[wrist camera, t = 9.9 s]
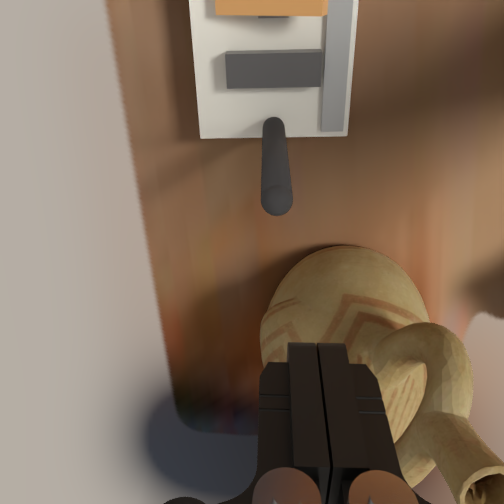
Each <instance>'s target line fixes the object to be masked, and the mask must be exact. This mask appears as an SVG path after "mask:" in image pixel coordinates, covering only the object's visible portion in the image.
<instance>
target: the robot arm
mask: <svg viewBox="0 0 504 504" xmlns="http://www.w3.org/2000/svg"><path fill="white" fill-rule="evenodd" d="M164 504H205V503H203V502H202V501H200V500H198V499H195V498H192V497H179V498H175V499H172V500H169V501H167V502H166V503H164ZM219 504H431V503H429V502H427V501H425V500H424V499H423V498H421V497H420V496H419V495H418V494H416V493H415V492H414V491H413V490H412V488H411V487H410V486H409V485H408V483H407V482H406V480H405V479H404V477H403V475H402V472H401V469H400V465H399V461H398V457H397V453H396V449H395V445H394V441H393V438H392V434H391V430H390V426H389V422H388V418H387V415H386V410H385V406H384V402H383V400H382V394H381V390H380V387H379V383H378V379H377V378H376V377H375V375H374V374H373V373H372V371H371V370H370V369H369V368H368V366H367V365H366V364H349V359H348V353H347V348H346V345H345V343H317V344H315V343H304V342H288V345H287V362H268V363H267V365H266V366H265V368H264V370H263V372H262V374H261V375H260V385H259V422H258V460H257V471H256V475H255V477H254V479H253V481H252V483H251V484H250V486H249V487H248V488H247V489H246V490H245V491H244V492H243V493H242V494H240V495H239V496H237V497H235V498H233V499H231V500H228V501H225V502H222V503H219Z"/></svg>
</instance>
